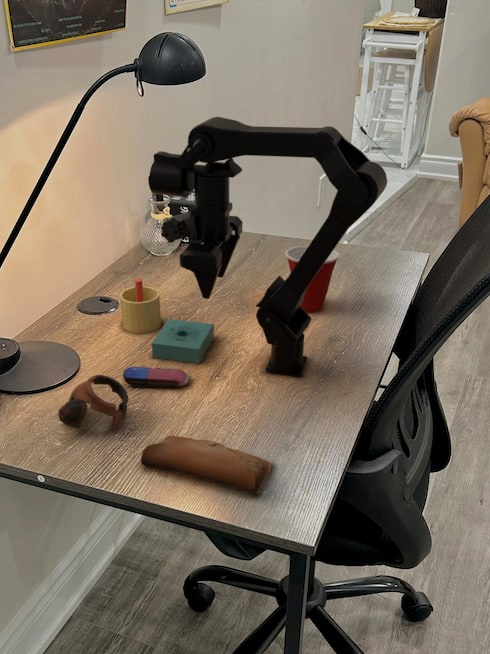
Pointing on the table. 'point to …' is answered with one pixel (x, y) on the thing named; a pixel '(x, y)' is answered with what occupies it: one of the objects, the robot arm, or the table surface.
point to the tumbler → (140, 310)
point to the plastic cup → (320, 282)
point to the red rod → (139, 290)
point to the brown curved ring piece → (93, 402)
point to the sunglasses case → (208, 462)
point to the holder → (183, 341)
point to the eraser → (155, 377)
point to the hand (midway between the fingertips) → (213, 287)
